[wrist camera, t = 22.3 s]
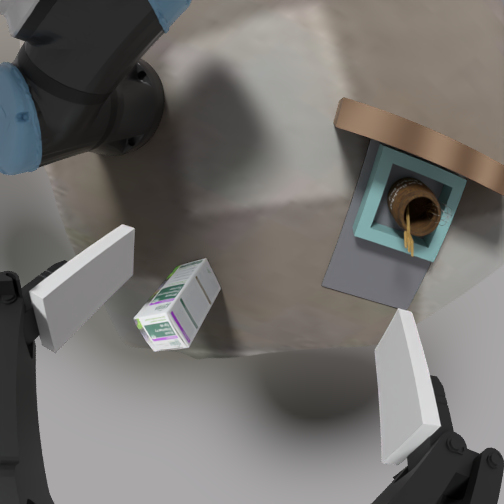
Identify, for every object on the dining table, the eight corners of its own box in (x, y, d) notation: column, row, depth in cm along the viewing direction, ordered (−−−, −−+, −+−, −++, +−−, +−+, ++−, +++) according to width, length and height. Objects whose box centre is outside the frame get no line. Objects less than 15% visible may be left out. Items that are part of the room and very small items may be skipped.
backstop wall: (333, 123, 37) (335, 126, 28) (339, 100, 35) (343, 97, 27) (492, 187, 34) (528, 209, 25) (499, 167, 33) (537, 185, 24)
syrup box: (207, 256, 49) (165, 310, 36) (222, 289, 50) (188, 350, 38) (176, 265, 51) (130, 318, 38) (192, 296, 52) (153, 354, 40)
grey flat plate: (321, 284, 46) (321, 285, 46) (371, 135, 36) (372, 135, 36) (405, 309, 45) (406, 310, 45) (465, 173, 35) (466, 174, 34)
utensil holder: (436, 201, 37) (470, 235, 26) (401, 230, 40) (423, 272, 29) (411, 166, 36) (441, 189, 26) (375, 196, 39) (391, 230, 28)
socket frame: (352, 227, 41) (354, 235, 39) (379, 143, 36) (384, 146, 33) (427, 252, 40) (433, 262, 37) (458, 175, 35) (467, 180, 32)
